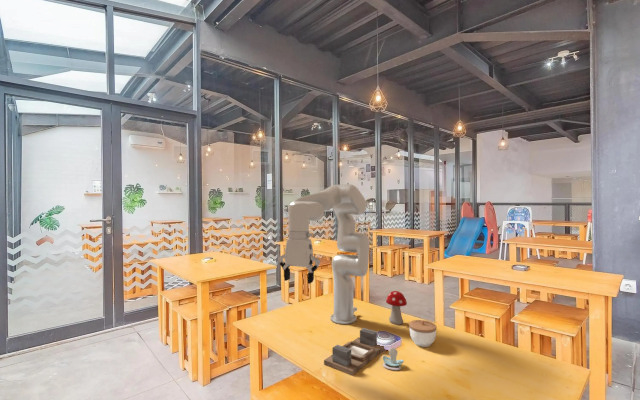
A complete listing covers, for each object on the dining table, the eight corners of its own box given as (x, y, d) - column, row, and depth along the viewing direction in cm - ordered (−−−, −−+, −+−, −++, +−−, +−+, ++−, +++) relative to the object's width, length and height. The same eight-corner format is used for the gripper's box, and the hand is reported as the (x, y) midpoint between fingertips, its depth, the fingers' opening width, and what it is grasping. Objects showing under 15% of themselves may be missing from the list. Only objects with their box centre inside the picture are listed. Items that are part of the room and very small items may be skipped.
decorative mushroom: (382, 322, 158) (382, 291, 158) (391, 317, 165) (391, 287, 165) (401, 328, 152) (401, 295, 152) (409, 322, 158) (410, 291, 158)
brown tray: (358, 340, 139) (358, 325, 138) (384, 349, 131) (384, 332, 131) (324, 364, 119) (324, 346, 119) (352, 375, 112) (352, 356, 112)
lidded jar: (404, 343, 136) (404, 321, 136) (416, 335, 144) (416, 314, 144) (429, 352, 129) (429, 328, 129) (440, 343, 137) (441, 320, 136)
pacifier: (400, 373, 114) (404, 364, 119) (400, 355, 114) (404, 347, 119) (380, 368, 117) (384, 360, 123) (379, 351, 117) (384, 343, 122)
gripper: (324, 235, 124) (323, 281, 124) (283, 233, 131) (283, 276, 131) (315, 238, 117) (315, 286, 117) (273, 235, 124) (273, 281, 124)
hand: (298, 281), depth 124 cm, fingers open, 9 cm apart
